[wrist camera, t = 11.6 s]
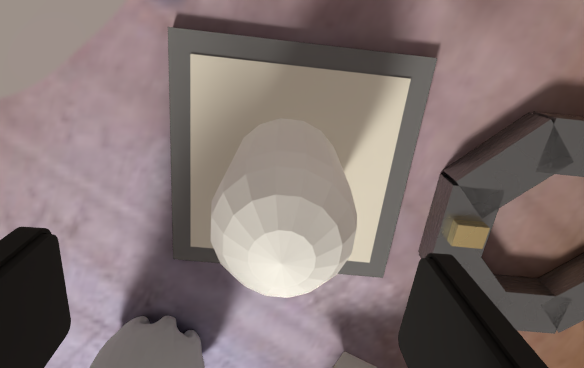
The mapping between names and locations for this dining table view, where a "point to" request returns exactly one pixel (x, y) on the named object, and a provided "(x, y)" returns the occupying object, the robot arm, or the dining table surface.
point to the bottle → (151, 346)
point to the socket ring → (497, 192)
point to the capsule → (284, 211)
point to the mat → (298, 106)
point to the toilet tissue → (351, 362)
